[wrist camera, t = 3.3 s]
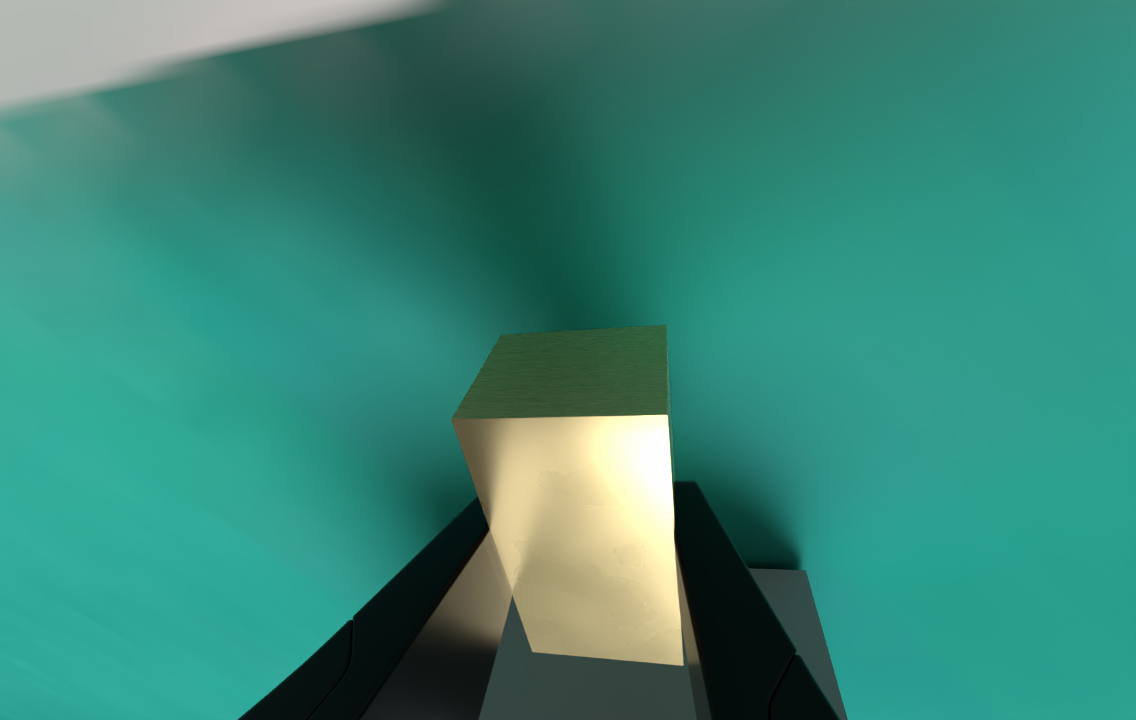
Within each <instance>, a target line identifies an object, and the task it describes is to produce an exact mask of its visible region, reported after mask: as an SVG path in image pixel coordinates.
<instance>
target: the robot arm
mask: <svg viewBox="0 0 1136 720" xmlns="http://www.w3.org/2000/svg"><path fill="white" fill-rule="evenodd" d="M674 504H675V533H674V546H675V559H676V572H677V584H678V597H679V608H680V616H681V623H682V629H683V635H684V642H685V648H686V654H687V661H688V667H689V673H690V680H691V686H692V692H693V699H694V705H695V711H696V718H697V720H841V719H840V718H839V716H838V715H837V713H836V711H835V710H834V708H833V707H832V705H831V704H830V702H829V700H828V699H827V697H826V696H825V694H824V693H823V691H822V689H821V688H820V686H819V685H818V683H817V682H816V680H815V678H814V677H813V675H812V673H811V672H810V670H809V668H808V667H807V665H806V663H805V662H804V660H803V658H802V657H801V655H799V654H797V649H796V647H795V645H794V644H793V642H792V640H791V639H790V637H789V635H788V634H787V632H786V630H785V629H784V627H783V625H782V624H781V622H780V620H779V619H778V617H777V615H776V614H775V612H774V610H773V609H772V607H771V605H770V604H769V602H768V600H767V599H766V597H765V595H764V594H763V592H762V590H761V589H760V587H759V585H758V584H757V582H756V580H755V579H754V577H753V575H752V574H751V572H750V570H749V569H748V567H747V565H746V564H745V562H744V560H743V559H742V557H741V555H740V554H739V552H738V550H737V548H736V547H735V545H734V543H733V542H732V540H731V538H730V537H729V535H728V533H727V532H726V530H725V528H724V527H723V525H722V523H721V522H720V520H719V518H718V517H717V515H716V513H715V512H714V510H713V508H712V507H711V505H710V503H709V502H708V500H707V498H706V497H705V495H704V493H703V492H702V490H701V488H700V487H699V485H698V484H697V483H696V482H695V481H674ZM512 593H513V591H512V589H511V586H510V583H509V580H508V578H507V575H506V572H505V569H504V566H503V564H502V561H501V558H500V555H499V553H498V550H497V547H496V544H495V541H494V539H493V536H492V533H491V530H490V528H489V526H488V523H487V520H486V518H485V515H484V512H483V509H482V506H481V503H480V500H479V497H478V496H477V497H476V498H475V499H474V500H473V501H472V502H471V503H470V504H469V505H468V506H467V507H466V508H465V509H464V510H463V511H462V512H461V513H460V514H459V515H457V516H456V517H455V518H454V519H453V520H452V521H451V522H450V523H449V524H448V525H447V526H446V527H445V528H444V529H443V530H442V531H441V532H440V533H439V534H438V535H437V536H436V537H435V538H434V539H433V540H432V541H431V542H430V543H429V544H427V545H426V546H425V547H424V548H423V549H422V550H421V551H420V552H419V553H418V554H417V555H416V556H415V557H414V558H413V559H412V560H411V561H410V562H409V563H408V564H407V565H406V566H405V567H404V568H403V569H402V570H401V571H400V572H399V573H398V574H396V575H395V576H394V577H393V578H392V579H391V580H390V581H389V582H388V583H387V584H386V585H385V586H384V587H383V588H382V589H381V590H380V591H379V592H378V593H377V594H376V595H375V596H374V597H373V598H372V599H371V600H370V601H369V602H368V603H366V604H365V605H364V606H363V607H362V608H361V609H360V610H359V611H358V612H357V613H356V614H355V615H354V616H353V620H349V621H348V622H347V623H346V624H345V625H344V626H343V627H341V628H340V629H339V630H338V631H337V632H336V633H335V634H334V635H333V636H332V637H331V638H330V639H329V640H328V641H327V642H326V643H325V644H324V645H323V646H321V647H320V648H319V649H318V650H317V651H316V652H315V653H314V654H313V655H312V656H311V657H310V658H309V659H308V660H306V661H305V662H304V663H303V664H302V665H301V666H300V667H299V668H297V669H296V670H295V671H294V672H293V673H292V674H291V675H289V676H288V677H287V678H286V679H285V680H284V681H283V682H281V683H280V684H279V685H278V686H277V687H276V688H274V689H273V690H272V691H271V692H270V693H269V694H267V695H266V696H265V697H264V698H263V699H262V700H260V701H259V702H258V703H257V704H256V705H254V706H253V707H252V708H251V709H250V710H248V711H247V712H246V713H245V714H244V715H243V716H241V717H240V718H239V719H238V720H479V717H480V713H481V709H482V706H483V702H484V698H485V695H486V691H487V687H488V684H489V680H490V676H491V673H492V669H493V665H494V662H495V658H496V654H497V651H498V647H499V643H500V640H501V636H502V632H503V628H504V625H505V621H506V617H507V614H508V610H509V606H510V602H511V598H512Z"/></svg>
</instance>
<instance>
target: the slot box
mask: <svg viewBox="0 0 1136 720" xmlns="http://www.w3.org/2000/svg"><path fill="white" fill-rule="evenodd" d="M748 569H749V570H750V572H751V574H752V575H753V577H754V579H755V580H756V582H757V584H758V585H759V587H760V589H761V590H762V592H763V594H764V595H765V597H766V599H767V600H768V602H769V604H770V605H771V607H772V609H773V610H774V612H775V614H776V615H777V617H778V619H779V620H780V622H781V624H782V625H783V627H784V629H785V630H786V632H787V634H788V635H789V637H790V639H791V640H792V642H793V644H794V645H795V647H796V649H797V654H799V655H801V657H802V658H803V660H804V662H805V663H806V665H807V667H808V668H809V670H810V672H811V673H812V675H813V677H814V678H815V680H816V682H817V683H818V685H819V686H820V688H821V689H822V691H823V693H824V694H825V696H826V697H827V699H828V700H829V702H830V704H831V705H832V707H833V708H834V710H835V711H836V713H837V715H838V716H839V718H840V719H841V720H848V719H847V716H846V712H845V709H844V705H843V702H842V698H841V695H840V691H839V687H838V684H837V680H836V677H835V673H834V670H833V666H832V663H831V659H830V655H829V652H828V648H827V645H826V641H825V638H824V634H823V630H822V627H821V623H820V620H819V616H818V613H817V609H816V606H815V602H814V598H813V595H812V591H811V588H810V584H809V581H808V577H807V573H806V571H803V570H778V569H754V568H748ZM682 637H683V666H681V665H670V664H659V663H648V662H637V661H626V660H615V659H604V658H593V657H582V656H571V655H560V654H549V653H538V652H532V650H531V647H530V644H529V641H528V638H527V635H526V632H525V630H524V627H523V624H522V621H521V618H520V615H519V612H518V609H517V607H516V604H515V601H514V598H513V595H512V598H511V602H510V606H509V610H508V614H507V617H506V621H505V625H504V628H503V632H502V636H501V640H500V643H499V647H498V651H497V654H496V658H495V662H494V665H493V669H492V673H491V676H490V680H489V684H488V687H487V691H486V695H485V698H484V702H483V706H482V709H481V713H480V717H479V720H697V718H696V711H695V705H694V699H693V692H692V686H691V680H690V673H689V667H688V661H687V654H686V648H685V642H684V635H683V629H682Z"/></svg>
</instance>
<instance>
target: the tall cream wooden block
mask: <svg viewBox="0 0 1136 720" xmlns="http://www.w3.org/2000/svg"><path fill="white" fill-rule="evenodd" d="M451 420H452V423H453V426H454V428H455V431H456V434H457V437H458V440H459V443H460V446H461V449H462V451H463V454H464V457H465V460H466V463H467V466H468V469H469V472H470V474H471V477H472V480H473V483H474V486H475V489H476V492H477V495H478V497H479V500H480V503H481V506H482V509H483V512H484V515H485V518H486V520H487V523H488V526H489V528H490V530H491V533H492V536H493V539H494V541H495V544H496V547H497V550H498V553H499V555H500V558H501V561H502V564H503V566H504V569H505V572H506V575H507V578H508V580H509V583H510V586H511V589H512V591H513V593H512V595H513V598H514V601H515V604H516V607H517V609H518V612H519V615H520V618H521V621H522V624H523V627H524V630H525V632H526V635H527V638H528V641H529V644H530V647H531V650H532V652H538V653H549V654H560V655H571V656H582V657H593V658H604V659H615V660H626V661H637V662H648V663H659V664H670V665H681V666H683V637H682V623H681V616H680V608H679V597H678V584H677V572H676V559H675V546H674V533H675V504H674V481H675V464H674V447H673V430H672V412H671V395H670V378H669V361H668V343H667V326H666V325H654V326H638V327H621V328H605V329H589V330H572V331H556V332H540V333H523V334H507V335H501V336H500V337H499V339H498V341H497V343H496V344H495V346H494V348H493V349H492V351H491V353H490V354H489V356H488V358H487V360H486V361H485V363H484V365H483V366H482V368H481V370H480V371H479V373H478V375H477V377H476V378H475V380H474V382H473V383H472V385H471V387H470V389H469V390H468V392H467V394H466V395H465V397H464V399H463V400H462V402H461V404H460V406H459V407H458V409H457V411H456V412H455V414H454V416H453V417H452V419H451Z"/></svg>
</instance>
